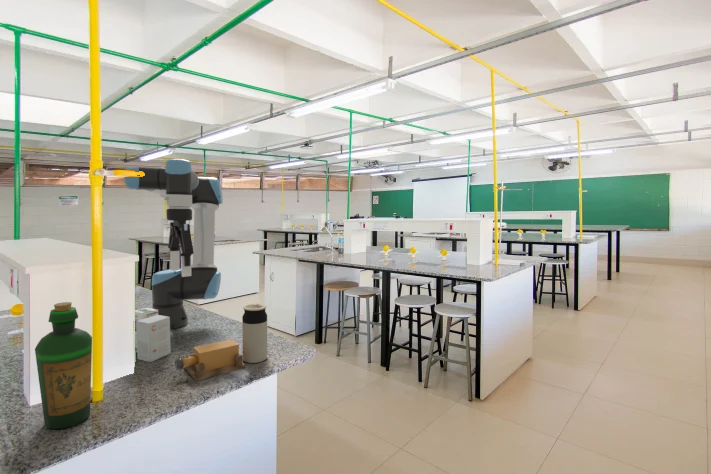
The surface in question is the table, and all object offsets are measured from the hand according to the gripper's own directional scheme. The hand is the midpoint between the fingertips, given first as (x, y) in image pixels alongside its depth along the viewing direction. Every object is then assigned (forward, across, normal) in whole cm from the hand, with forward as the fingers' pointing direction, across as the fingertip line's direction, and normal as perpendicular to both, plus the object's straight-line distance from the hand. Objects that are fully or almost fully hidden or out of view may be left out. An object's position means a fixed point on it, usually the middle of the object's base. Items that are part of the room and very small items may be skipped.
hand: (180, 273), depth 122 cm
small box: (+29, -7, -7) cm, 31 cm away
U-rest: (+29, +14, +6) cm, 32 cm away
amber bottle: (+28, +14, +4) cm, 31 cm away
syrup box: (+29, -14, -8) cm, 33 cm away
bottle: (+29, +22, -31) cm, 48 cm away
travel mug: (+29, +15, +19) cm, 38 cm away
